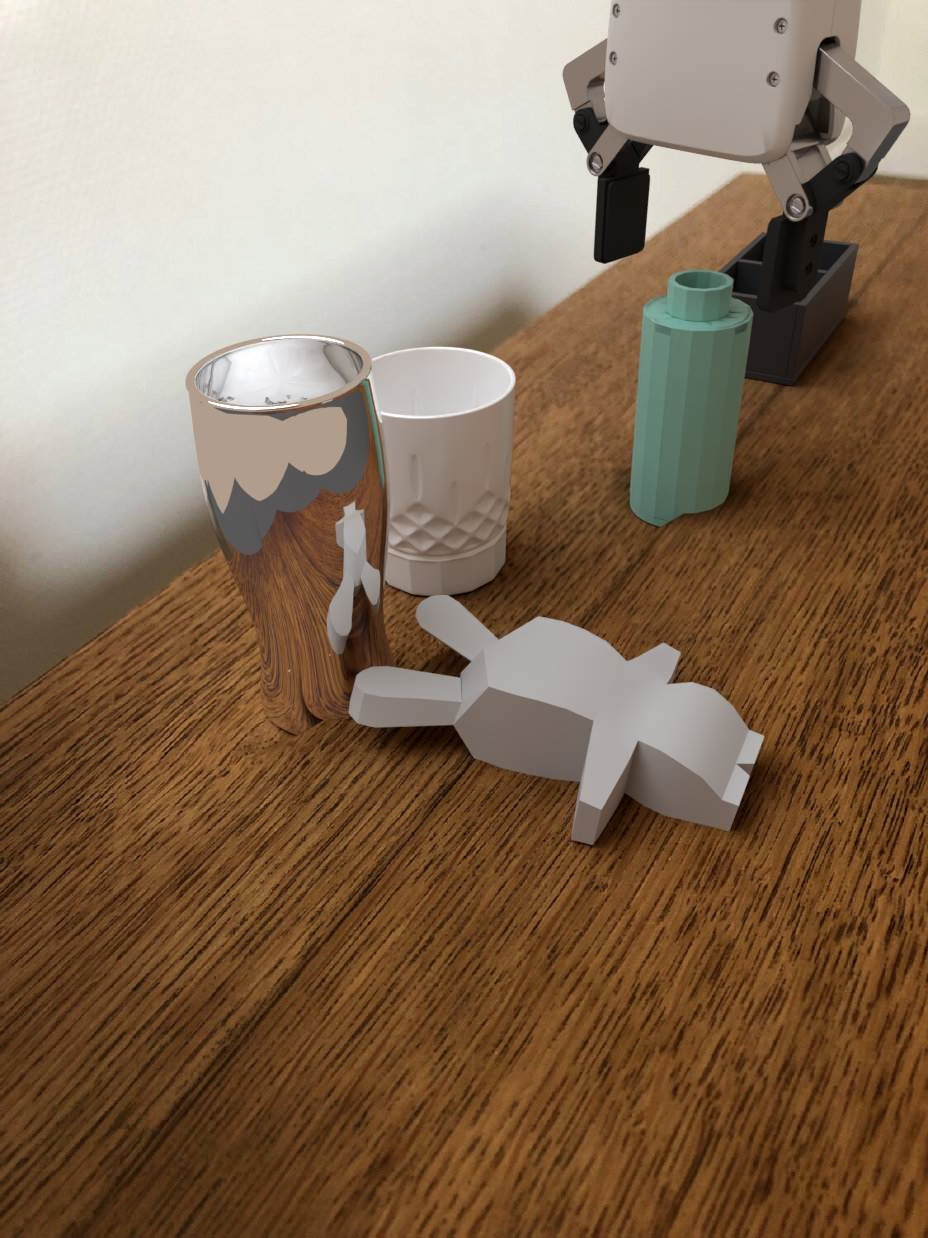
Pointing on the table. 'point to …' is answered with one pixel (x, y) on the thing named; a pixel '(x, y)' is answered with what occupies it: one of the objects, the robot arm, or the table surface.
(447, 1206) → the table surface
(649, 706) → the bunny figurine
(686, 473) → the bottle
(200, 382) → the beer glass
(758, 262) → the holder
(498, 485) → the white cup
